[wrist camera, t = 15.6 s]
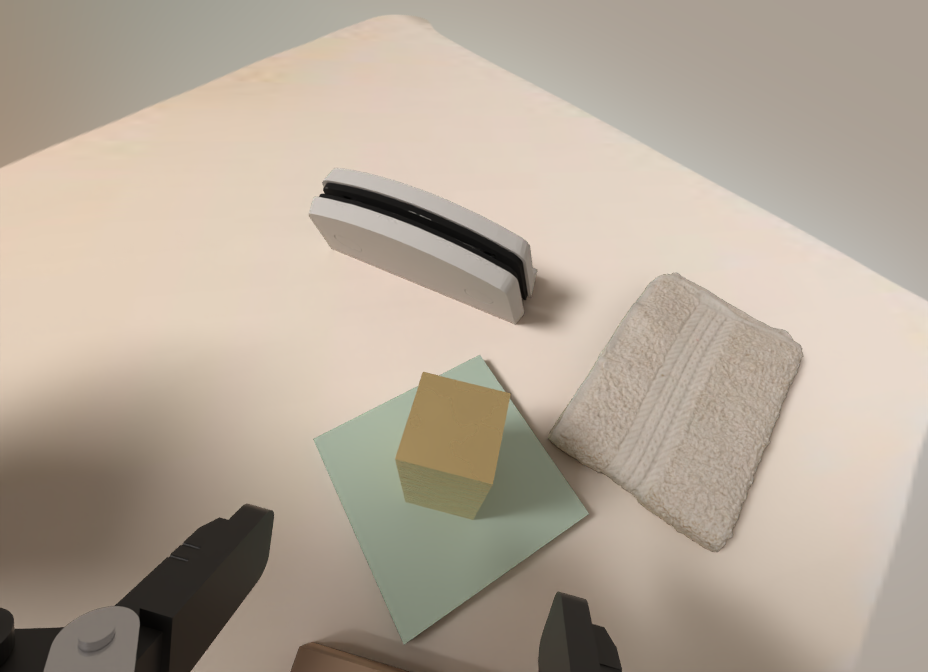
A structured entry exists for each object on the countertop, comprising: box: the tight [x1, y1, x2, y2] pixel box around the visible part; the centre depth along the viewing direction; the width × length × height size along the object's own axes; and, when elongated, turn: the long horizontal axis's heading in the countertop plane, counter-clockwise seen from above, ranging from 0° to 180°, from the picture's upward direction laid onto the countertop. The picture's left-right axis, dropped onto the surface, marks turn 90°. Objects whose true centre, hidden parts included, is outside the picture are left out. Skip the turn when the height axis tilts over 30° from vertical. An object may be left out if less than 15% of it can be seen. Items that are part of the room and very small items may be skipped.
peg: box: [395, 372, 511, 520], centre depth 22 cm, size 4×4×9 cm
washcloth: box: [548, 273, 803, 552], centre depth 30 cm, size 12×18×3 cm, turn 144°
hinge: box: [309, 168, 537, 324], centre depth 32 cm, size 17×5×10 cm, turn 66°
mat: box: [313, 355, 589, 644], centre depth 27 cm, size 12×12×1 cm
